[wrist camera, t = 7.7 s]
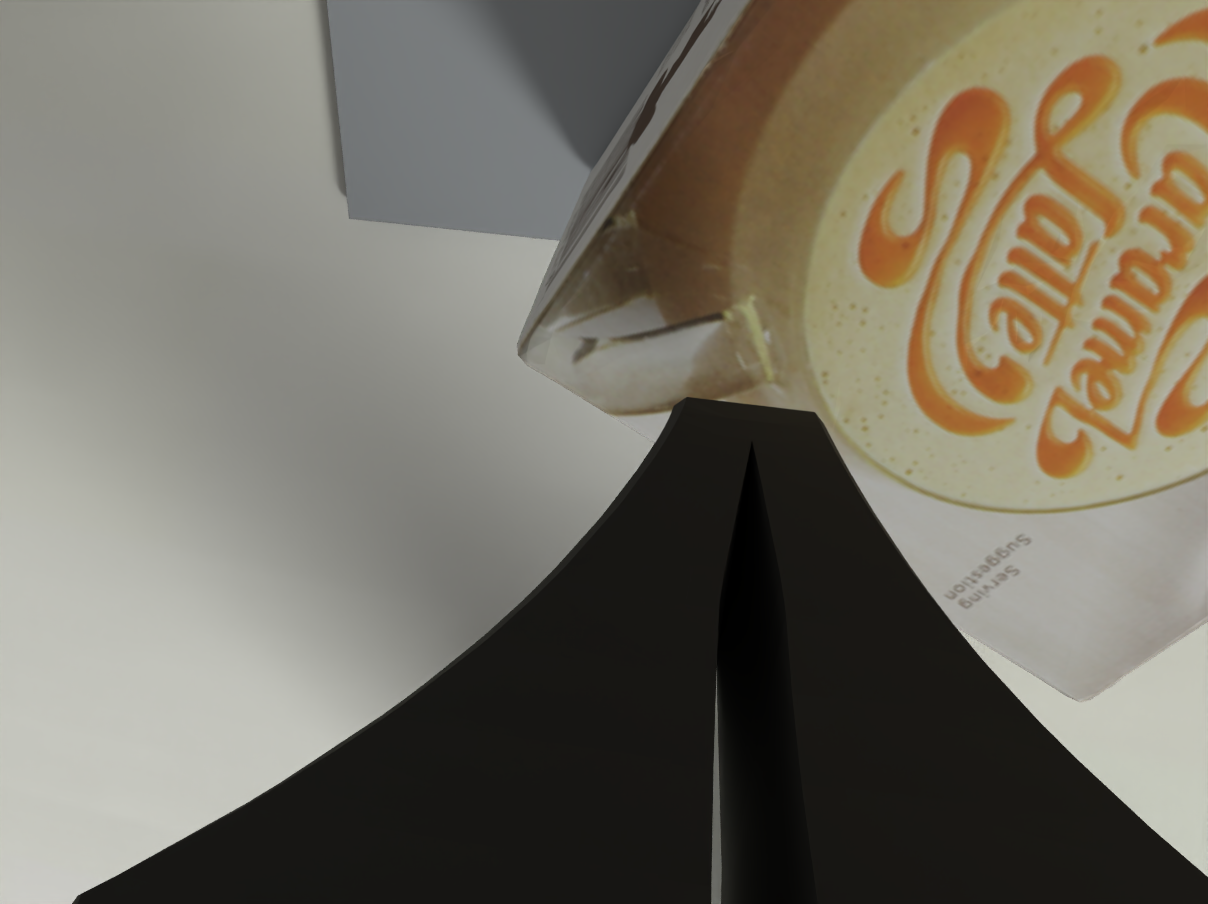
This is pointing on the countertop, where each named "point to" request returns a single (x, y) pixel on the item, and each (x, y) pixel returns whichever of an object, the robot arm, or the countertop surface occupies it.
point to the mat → (487, 104)
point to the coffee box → (932, 290)
